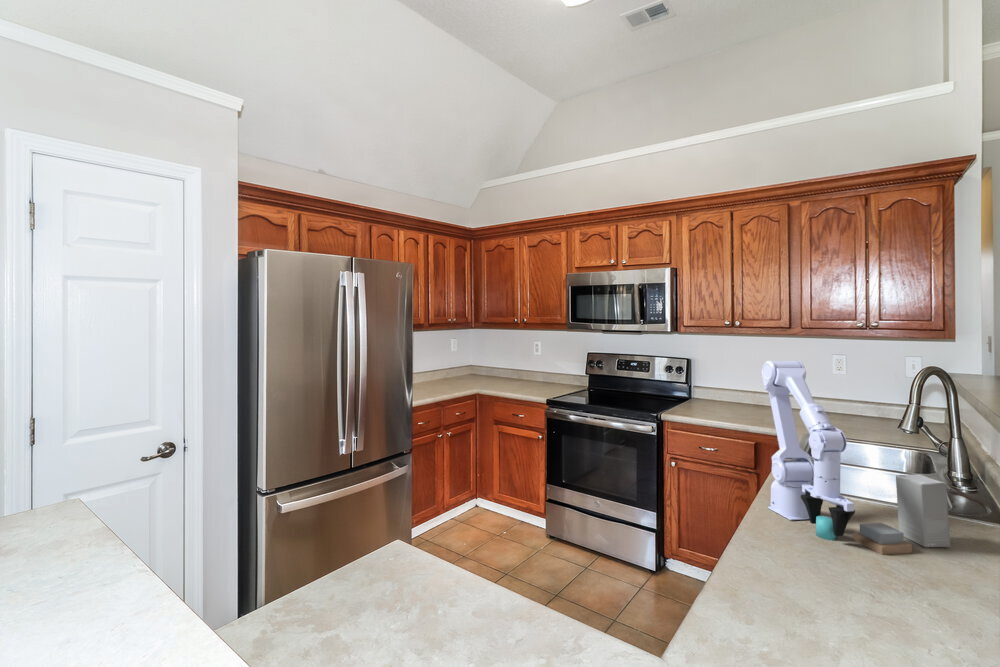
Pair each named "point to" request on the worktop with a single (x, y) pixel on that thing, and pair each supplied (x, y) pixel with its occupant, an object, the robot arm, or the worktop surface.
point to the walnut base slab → (883, 548)
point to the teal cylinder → (825, 528)
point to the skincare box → (923, 510)
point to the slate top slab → (881, 533)
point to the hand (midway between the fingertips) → (826, 529)
